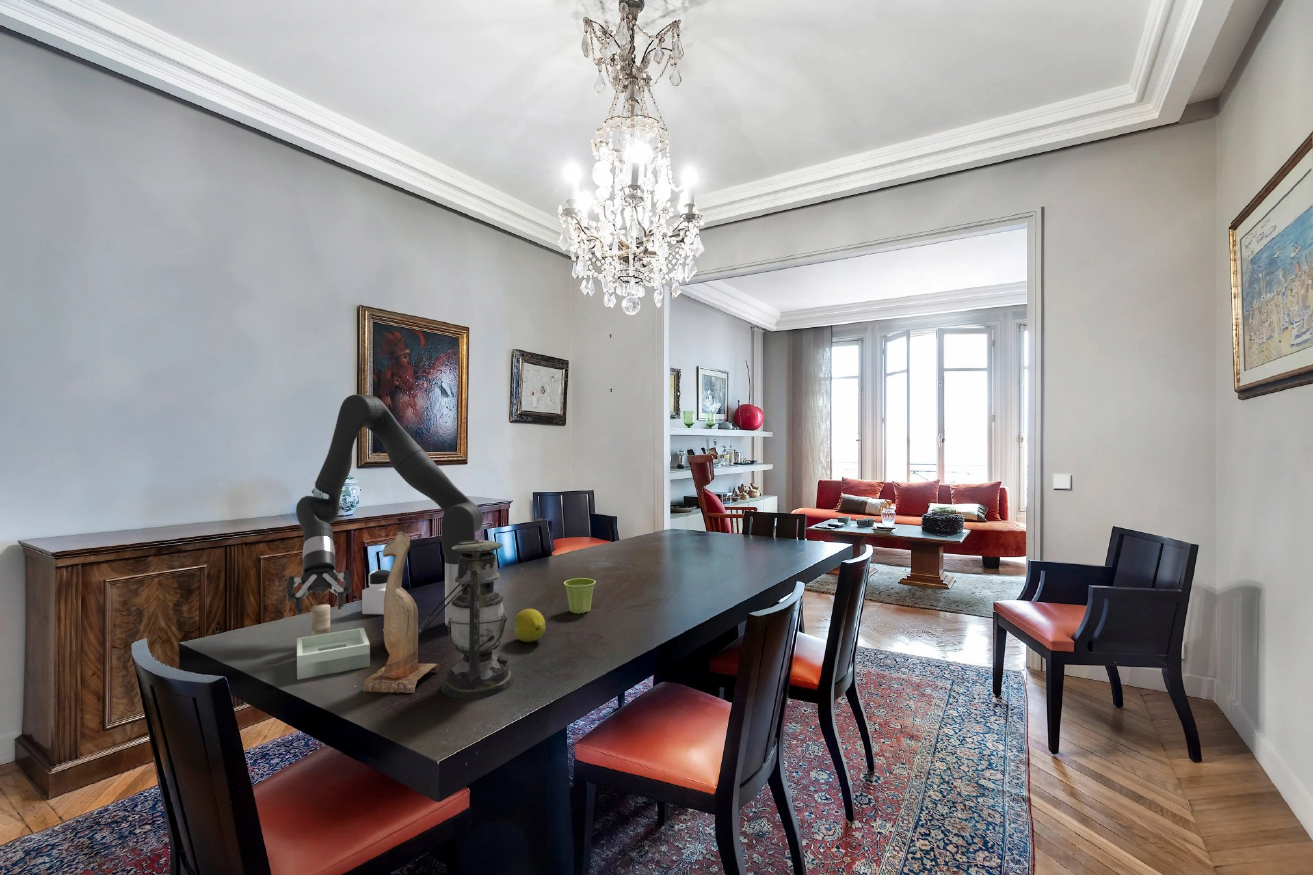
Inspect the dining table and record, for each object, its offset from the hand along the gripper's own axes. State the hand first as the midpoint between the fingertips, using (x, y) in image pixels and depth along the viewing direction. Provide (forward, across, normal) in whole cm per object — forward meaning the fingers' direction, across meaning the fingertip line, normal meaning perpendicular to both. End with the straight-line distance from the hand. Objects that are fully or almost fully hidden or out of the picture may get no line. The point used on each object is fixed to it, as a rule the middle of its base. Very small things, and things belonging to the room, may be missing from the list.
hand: (320, 610), depth 149 cm
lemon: (+25, +45, -13) cm, 53 cm away
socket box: (+18, +2, -6) cm, 19 cm away
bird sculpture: (+32, +14, -20) cm, 40 cm away
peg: (+8, 0, +4) cm, 9 cm away
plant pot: (+12, +67, -1) cm, 68 cm away
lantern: (+38, +25, -27) cm, 53 cm away
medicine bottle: (-10, +16, +22) cm, 30 cm away
